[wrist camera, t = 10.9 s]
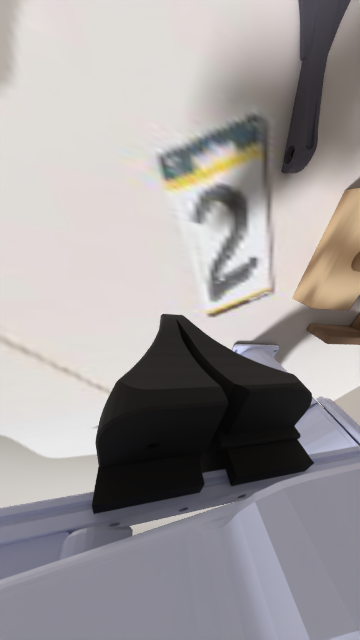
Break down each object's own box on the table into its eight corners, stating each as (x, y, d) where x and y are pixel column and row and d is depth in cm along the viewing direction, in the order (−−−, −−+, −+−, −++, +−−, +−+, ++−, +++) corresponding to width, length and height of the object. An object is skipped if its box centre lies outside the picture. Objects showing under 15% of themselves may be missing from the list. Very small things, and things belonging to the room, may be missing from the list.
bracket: (210, 178, 15) (223, 170, 13) (222, -236, 8) (257, -433, 5) (344, 173, 17) (376, 165, 15) (459, -164, 10) (561, -288, 7)
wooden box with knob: (324, 299, 25) (369, 319, 20) (290, 297, 23) (330, 317, 18) (382, 201, 19) (466, 194, 14) (341, 190, 18) (419, 178, 13)
